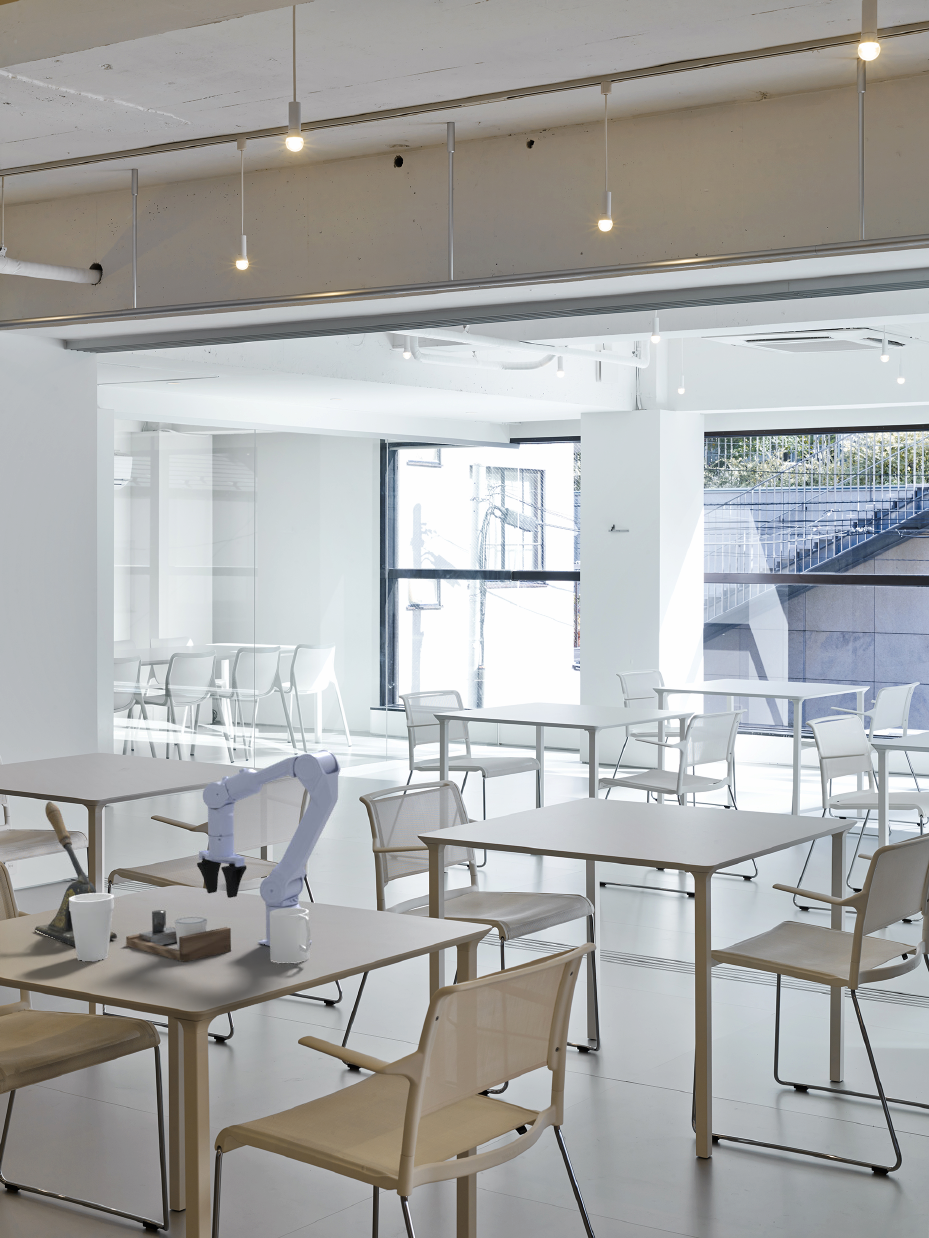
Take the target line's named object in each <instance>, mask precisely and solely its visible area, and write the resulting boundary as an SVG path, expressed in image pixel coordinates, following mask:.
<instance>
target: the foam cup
mask: <svg viewBox="0 0 929 1238" xmlns="http://www.w3.org/2000/svg"><path fill="white" fill-rule="evenodd" d="M114 908H115V895H114V894H113V893H112V894H111V893H107V892H106V893H105V892H96V893H88V894H80V895H76V896H72V897H70V898H69V911H70V913H71V920H72V926H73V933H74V940H75V946H74V947H75V952H76V958H77V961H79V960H82V961H81V962H85V961H92V962H98V960H100V961H103V960H102V959H104V960H106V959H108V955H109V948H110V941H111V939H110V932H112V931H111V930H112V923H113V922H112V920H113V912H114Z"/></svg>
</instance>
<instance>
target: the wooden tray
mask: <svg viewBox="0 0 929 1238" xmlns="http://www.w3.org/2000/svg"><path fill="white" fill-rule="evenodd" d="M171 927H172V926H171ZM172 928H175V927H172ZM231 930H232V929H231V927H228V926H224V927H220V928H216V929H211V930H206V931H205V932H201V933H196V934H191V935H186V936H182V937H179V950H178V949H176V948H173V947H168V946H164V945H158V944H154V943H150V942H147V941H143V940H139V933H138V934H134V935H133V934H132V935H128V936H125V937H126V938H125V940H126V941H125V943H126V944H125V945H126V947H129V948H130V947H131V948H133V949H137V950H140V951H144V952H147V953H152V954H155V955H158V956H161V957H165V958H169V959H172V960H176V961H180V962H183V963H184V962H190V961H193V960H199V959H202V958H206V957H207V958H208V957H211V956H215V955H220V954H224V953H229V952H232V933H231V932H232V931H231Z"/></svg>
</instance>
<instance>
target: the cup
mask: <svg viewBox="0 0 929 1238" xmlns="http://www.w3.org/2000/svg"><path fill="white" fill-rule="evenodd" d="M309 913H310V911H309V909H307V908H304V909H303V907H302V908H281V909H275V910H272V911H270V946H269V954H270V955H269V956H270V957H269V959H271V960H273V961H277V962H281V963H282V962H285V963H287V962H288V963H291V962H297V961H302V960H306V959H308V958H309V959H310V949H311V948H310V947H311V945H310V944H311V943H310V941H311V926H310V919H309V918H310V917H309ZM271 960H270V961H271Z"/></svg>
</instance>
